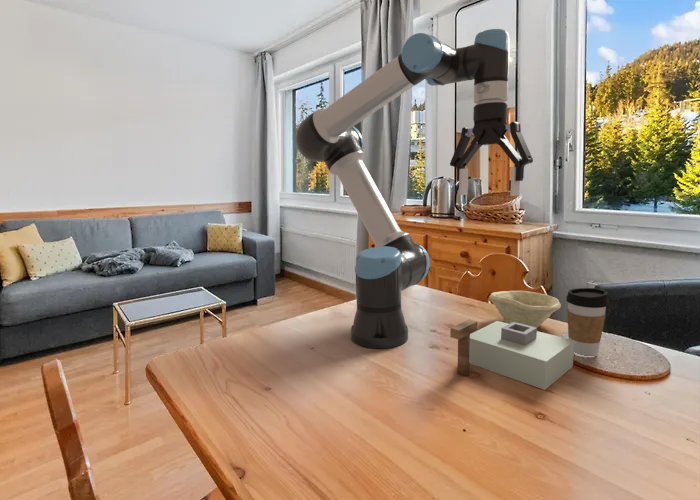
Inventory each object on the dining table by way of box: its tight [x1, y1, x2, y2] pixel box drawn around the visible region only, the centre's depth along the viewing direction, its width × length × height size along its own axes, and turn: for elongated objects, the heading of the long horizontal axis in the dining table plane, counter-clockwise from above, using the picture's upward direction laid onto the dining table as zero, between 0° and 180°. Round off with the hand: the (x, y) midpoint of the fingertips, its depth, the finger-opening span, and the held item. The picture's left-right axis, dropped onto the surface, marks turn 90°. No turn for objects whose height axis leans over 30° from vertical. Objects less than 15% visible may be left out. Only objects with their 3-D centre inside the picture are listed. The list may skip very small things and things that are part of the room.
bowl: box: [488, 290, 562, 329], centre depth 115 cm, size 14×18×15 cm
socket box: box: [469, 320, 575, 391], centre depth 92 cm, size 18×14×8 cm
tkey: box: [449, 319, 478, 377], centre depth 89 cm, size 7×2×11 cm, turn 132°
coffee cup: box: [565, 287, 610, 356], centre depth 96 cm, size 8×8×15 cm
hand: (487, 195), depth 101 cm, fingers open, 13 cm apart
